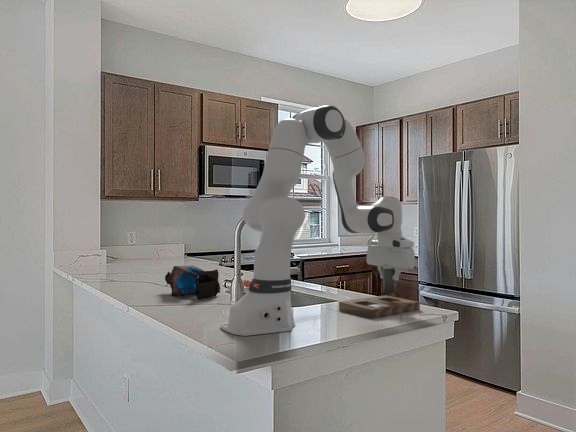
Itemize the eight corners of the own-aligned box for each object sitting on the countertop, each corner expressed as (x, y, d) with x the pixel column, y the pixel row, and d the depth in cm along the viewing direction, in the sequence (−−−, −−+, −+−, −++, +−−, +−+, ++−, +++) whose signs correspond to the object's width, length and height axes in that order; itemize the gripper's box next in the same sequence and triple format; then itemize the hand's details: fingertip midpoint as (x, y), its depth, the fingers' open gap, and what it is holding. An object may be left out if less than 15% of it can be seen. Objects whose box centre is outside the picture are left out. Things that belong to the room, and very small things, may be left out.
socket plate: (372, 319, 146) (372, 308, 146) (339, 310, 159) (339, 301, 159) (419, 310, 160) (419, 301, 160) (385, 303, 173) (385, 294, 173)
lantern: (211, 314, 180) (166, 303, 194) (229, 280, 189) (185, 272, 202) (190, 291, 170) (145, 282, 183) (211, 257, 178) (166, 250, 191)
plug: (390, 293, 161) (390, 265, 161) (380, 291, 165) (380, 264, 165) (398, 292, 164) (398, 264, 164) (388, 290, 167) (388, 263, 167)
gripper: (362, 240, 171) (362, 276, 171) (406, 243, 154) (405, 283, 154) (374, 239, 174) (374, 275, 174) (417, 242, 158) (417, 282, 158)
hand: (389, 279), depth 164 cm, fingers closed on plug, 4 cm apart
